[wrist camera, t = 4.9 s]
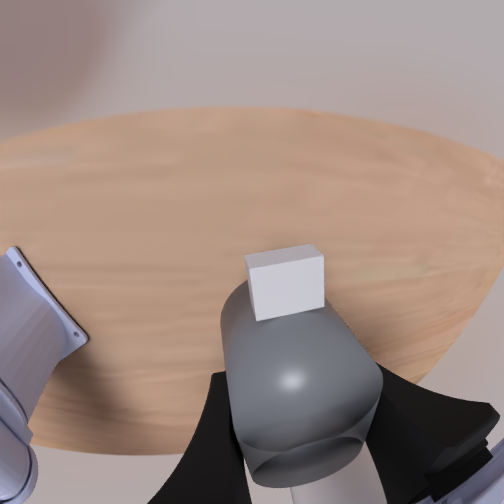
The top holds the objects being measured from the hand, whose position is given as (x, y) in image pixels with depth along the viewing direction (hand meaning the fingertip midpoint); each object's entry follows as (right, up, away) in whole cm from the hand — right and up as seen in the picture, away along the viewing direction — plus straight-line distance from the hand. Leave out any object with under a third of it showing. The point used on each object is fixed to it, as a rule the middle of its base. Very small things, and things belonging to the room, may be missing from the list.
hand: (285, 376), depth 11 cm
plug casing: (0, 0, +1) cm, 1 cm away
